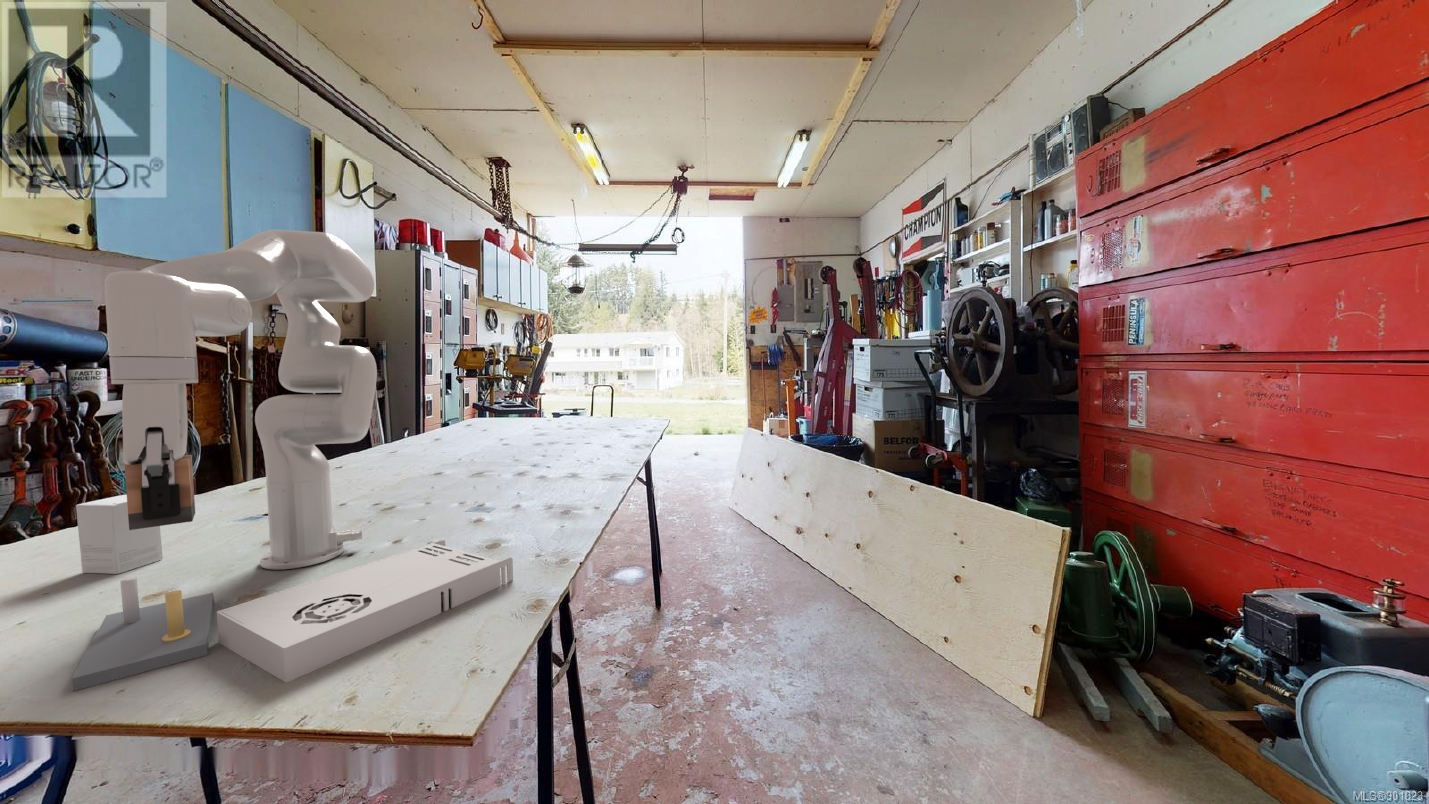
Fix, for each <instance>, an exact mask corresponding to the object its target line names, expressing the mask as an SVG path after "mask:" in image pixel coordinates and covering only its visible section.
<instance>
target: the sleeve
mask: <svg viewBox="0 0 1429 804" xmlns="http://www.w3.org/2000/svg"><path fill="white" fill-rule="evenodd" d="M192 456H193V455H192V454H185V455H184V456H183V457H182V458H181V459H179V460H178V461H175V477H176V484H179V492H180V508H181V513H180V515H178V516H174V517H167V518H159V519H152V520H144V519H143V514H142V499H141V488H143V487H142V458H140V459H139V460H138V461H137V462H136V463H134V462H135V461H134V462H133V463H134V464H133V465H127V464H125V463H124V475H125V477H124V478H125V490H126V491H125V492H126V495H127V506H128V520H129V530H134V529H141V528H149V527H156V526H160V527H161V526H169V525H170V526H171V525H176V524H182V523H190V522H193V520H194V518H195V515H196V503H195V502H196V501H195V489H194V488H195V485H194V470H193V458H192ZM163 460H170V457H165V458H163ZM167 468H168V466H167ZM168 476H169V474H168Z"/></svg>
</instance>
